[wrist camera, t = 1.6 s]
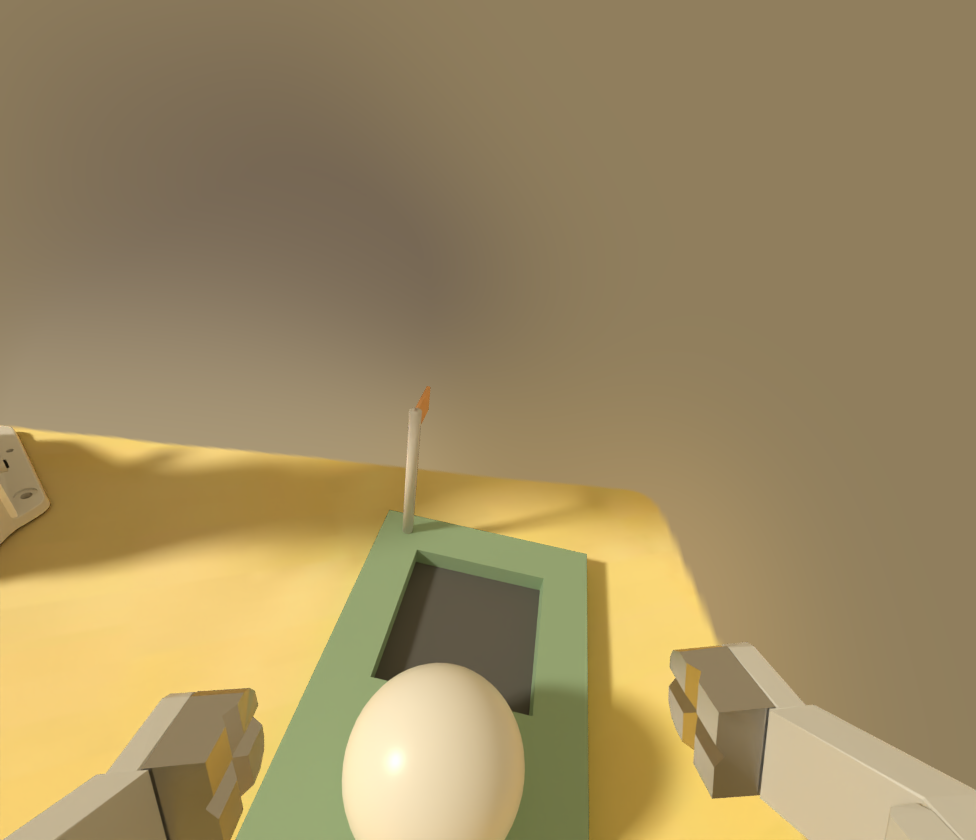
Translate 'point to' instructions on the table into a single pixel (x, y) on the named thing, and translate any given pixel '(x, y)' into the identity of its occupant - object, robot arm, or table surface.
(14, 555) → the table surface
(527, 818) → the putting mat
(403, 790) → the ball
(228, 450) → the table surface
